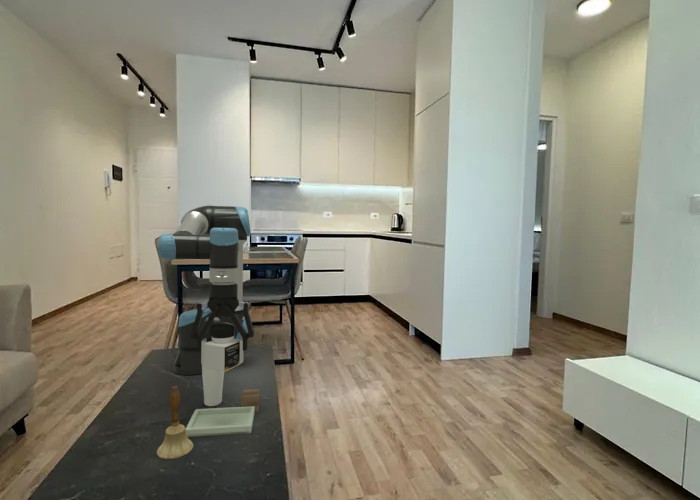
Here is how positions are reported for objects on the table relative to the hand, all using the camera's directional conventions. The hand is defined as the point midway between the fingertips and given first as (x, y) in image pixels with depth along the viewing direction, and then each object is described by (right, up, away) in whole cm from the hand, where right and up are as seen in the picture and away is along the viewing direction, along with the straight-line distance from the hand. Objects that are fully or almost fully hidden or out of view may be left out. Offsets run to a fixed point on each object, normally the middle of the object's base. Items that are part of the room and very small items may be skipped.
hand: (222, 362), depth 106 cm
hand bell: (-8, -18, -12) cm, 23 cm away
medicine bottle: (0, -1, 0) cm, 1 cm away
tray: (0, -18, +1) cm, 18 cm away
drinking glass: (-8, -17, +14) cm, 23 cm away
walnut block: (+5, -18, +11) cm, 21 cm away
